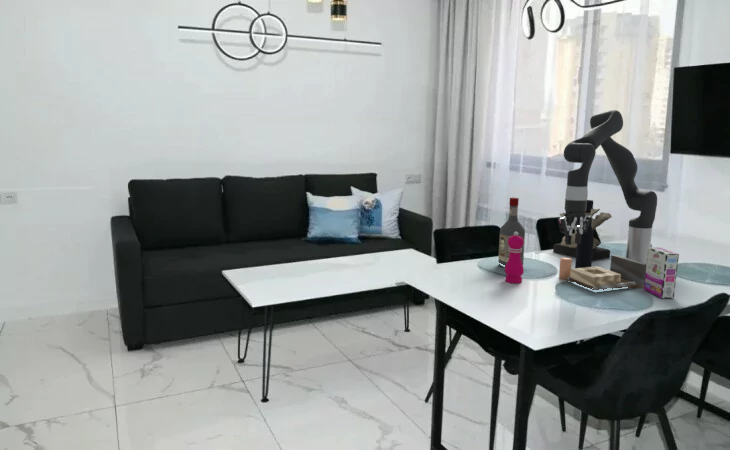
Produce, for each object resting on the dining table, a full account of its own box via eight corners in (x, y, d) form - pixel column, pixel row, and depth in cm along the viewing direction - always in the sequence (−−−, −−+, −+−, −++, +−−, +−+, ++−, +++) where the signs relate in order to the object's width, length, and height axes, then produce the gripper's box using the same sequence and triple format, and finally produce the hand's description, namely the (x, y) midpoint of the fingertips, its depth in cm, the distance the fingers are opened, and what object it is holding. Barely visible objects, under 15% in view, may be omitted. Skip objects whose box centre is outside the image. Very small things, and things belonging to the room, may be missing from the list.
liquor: (513, 262, 241) (517, 196, 235) (525, 268, 232) (529, 199, 227) (495, 264, 238) (499, 197, 232) (507, 269, 229) (511, 200, 224)
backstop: (613, 276, 220) (615, 254, 218) (645, 287, 205) (647, 264, 203) (565, 281, 212) (567, 259, 211) (594, 293, 197) (596, 269, 196)
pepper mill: (512, 284, 208) (515, 234, 204) (500, 280, 214) (502, 230, 210) (527, 282, 211) (529, 232, 207) (514, 277, 217) (516, 229, 214)
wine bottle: (592, 273, 224) (598, 201, 219) (576, 272, 226) (581, 201, 220) (589, 269, 231) (595, 199, 225) (573, 268, 232) (578, 199, 226)
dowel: (565, 276, 220) (566, 257, 218) (572, 279, 215) (574, 259, 214) (556, 277, 218) (557, 258, 217) (563, 280, 214) (565, 260, 213)
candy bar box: (675, 298, 191) (680, 253, 188) (661, 299, 191) (666, 254, 188) (655, 289, 202) (660, 246, 199) (643, 289, 202) (647, 247, 199)
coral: (547, 250, 266) (550, 207, 262) (576, 246, 275) (579, 204, 271) (589, 261, 244) (593, 214, 240) (619, 256, 253) (623, 211, 249)
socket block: (595, 276, 215) (596, 266, 214) (620, 285, 203) (621, 274, 202) (569, 279, 211) (570, 268, 210) (592, 288, 199) (593, 277, 198)
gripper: (584, 196, 203) (581, 240, 206) (553, 197, 198) (550, 243, 201) (599, 198, 196) (595, 244, 199) (567, 200, 191) (563, 247, 194)
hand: (572, 243), depth 200 cm, fingers open, 3 cm apart
